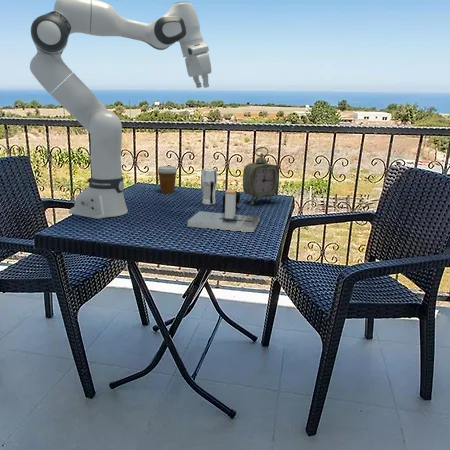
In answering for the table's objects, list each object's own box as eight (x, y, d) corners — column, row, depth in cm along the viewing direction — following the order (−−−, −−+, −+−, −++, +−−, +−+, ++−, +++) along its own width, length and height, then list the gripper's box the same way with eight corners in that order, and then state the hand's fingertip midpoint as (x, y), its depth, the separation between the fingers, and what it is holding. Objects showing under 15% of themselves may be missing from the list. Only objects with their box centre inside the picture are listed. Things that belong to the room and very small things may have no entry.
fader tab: (222, 219, 141) (222, 191, 138) (224, 216, 145) (225, 189, 142) (235, 220, 140) (236, 192, 137) (237, 217, 144) (238, 190, 141)
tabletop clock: (250, 206, 169) (253, 148, 162) (239, 201, 177) (242, 146, 169) (277, 203, 176) (281, 147, 169) (265, 198, 184) (268, 145, 176)
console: (187, 226, 140) (187, 215, 139) (199, 216, 153) (199, 206, 152) (253, 233, 135) (253, 222, 133) (259, 221, 148) (260, 211, 146)
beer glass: (216, 205, 169) (217, 171, 165) (200, 204, 169) (200, 170, 165) (216, 201, 176) (217, 168, 171) (201, 200, 176) (201, 168, 172)
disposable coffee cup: (155, 193, 187) (154, 168, 184) (161, 189, 196) (161, 165, 193) (174, 194, 186) (173, 169, 182) (179, 190, 195) (179, 166, 191)
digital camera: (235, 213, 158) (236, 196, 156) (222, 212, 159) (223, 195, 157) (239, 207, 168) (240, 191, 166) (227, 206, 169) (227, 190, 167)
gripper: (178, 54, 155) (188, 89, 161) (193, 49, 137) (203, 89, 143) (193, 50, 157) (202, 85, 162) (209, 45, 139) (218, 84, 144)
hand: (202, 87), depth 152 cm, fingers open, 8 cm apart
